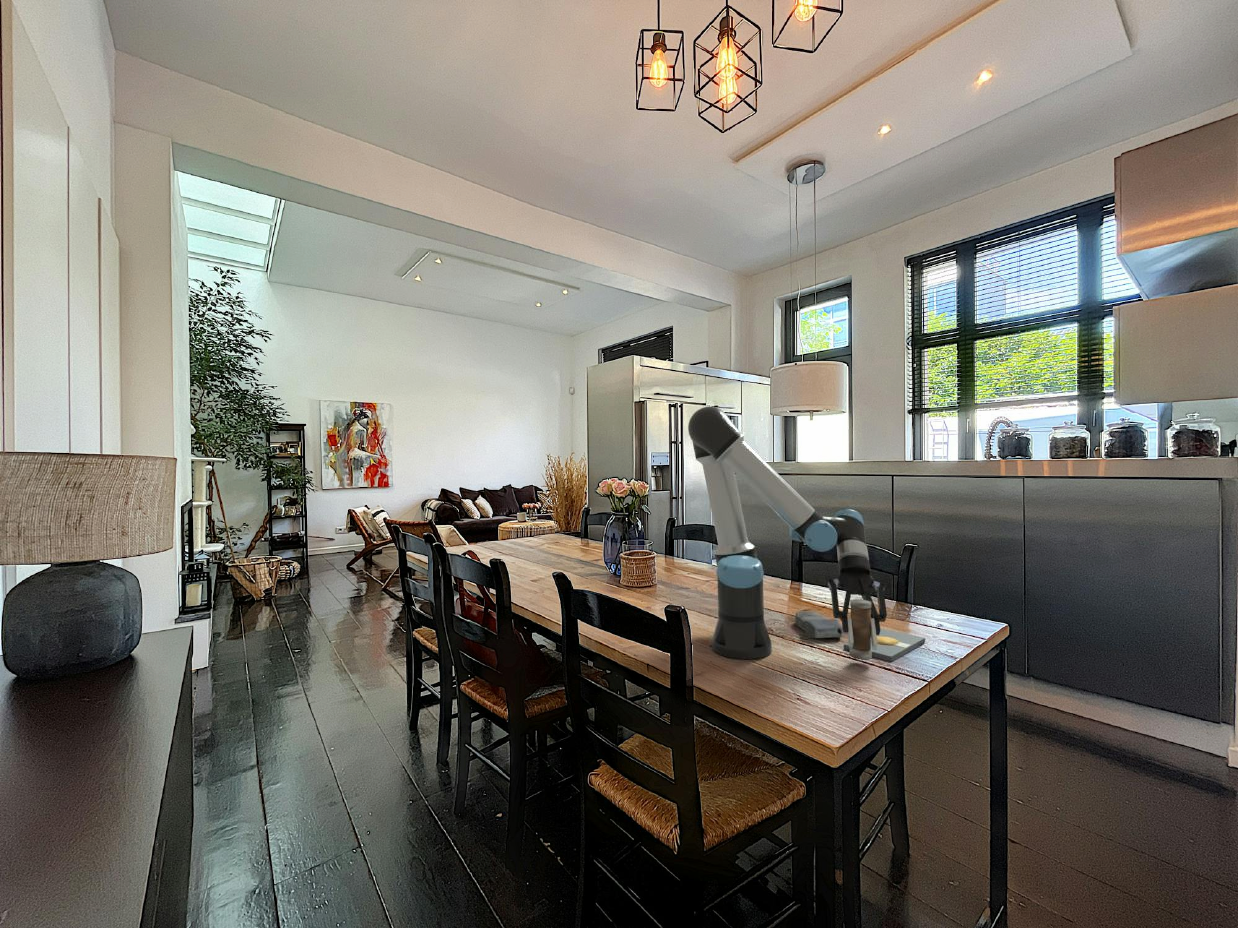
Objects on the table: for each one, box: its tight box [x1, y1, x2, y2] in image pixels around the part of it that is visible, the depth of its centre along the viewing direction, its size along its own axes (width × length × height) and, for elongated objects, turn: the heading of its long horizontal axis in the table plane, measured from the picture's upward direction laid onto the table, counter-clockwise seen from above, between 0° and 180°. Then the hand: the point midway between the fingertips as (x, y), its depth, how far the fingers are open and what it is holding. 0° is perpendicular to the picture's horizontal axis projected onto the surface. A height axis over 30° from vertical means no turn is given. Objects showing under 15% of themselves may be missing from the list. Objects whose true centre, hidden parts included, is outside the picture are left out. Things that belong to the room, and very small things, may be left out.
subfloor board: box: [843, 627, 926, 662], centre depth 140 cm, size 20×12×1 cm, turn 130°
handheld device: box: [794, 610, 844, 639], centre depth 155 cm, size 10×20×5 cm, turn 3°
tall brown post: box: [849, 598, 873, 661], centre depth 128 cm, size 5×5×13 cm
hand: (863, 645), depth 124 cm, fingers closed on tall brown post, 4 cm apart
